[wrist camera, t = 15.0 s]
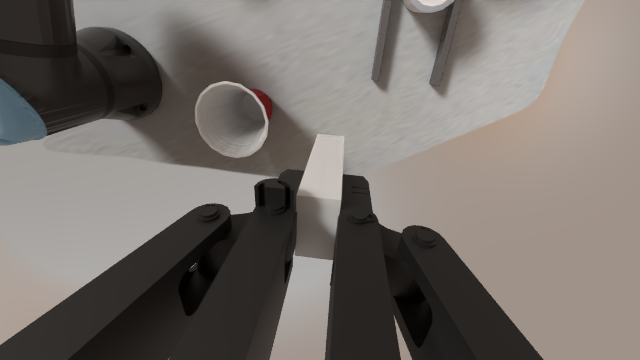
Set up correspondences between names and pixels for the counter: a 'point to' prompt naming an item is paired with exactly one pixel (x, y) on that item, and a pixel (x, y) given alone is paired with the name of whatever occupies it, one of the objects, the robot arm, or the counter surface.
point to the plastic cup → (233, 118)
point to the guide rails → (442, 49)
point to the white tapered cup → (426, 5)
